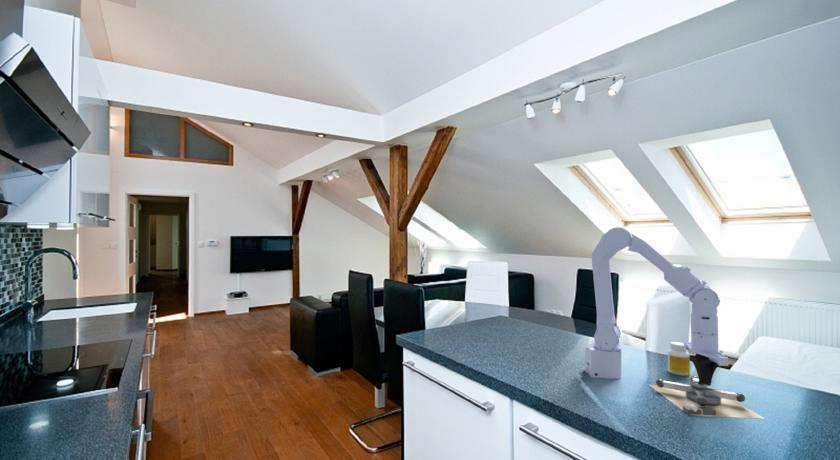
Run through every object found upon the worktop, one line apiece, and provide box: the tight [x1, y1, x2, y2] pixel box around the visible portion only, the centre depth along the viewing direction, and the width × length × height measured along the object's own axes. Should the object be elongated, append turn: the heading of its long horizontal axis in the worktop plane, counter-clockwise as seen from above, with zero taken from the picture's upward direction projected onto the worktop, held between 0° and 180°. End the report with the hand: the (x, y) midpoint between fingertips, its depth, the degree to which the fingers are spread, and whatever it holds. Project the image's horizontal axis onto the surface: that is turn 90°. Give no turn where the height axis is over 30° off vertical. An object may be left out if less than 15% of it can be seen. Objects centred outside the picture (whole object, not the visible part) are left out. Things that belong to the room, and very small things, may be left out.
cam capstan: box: [655, 375, 746, 406], centre depth 96 cm, size 18×18×4 cm
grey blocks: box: [682, 405, 716, 415], centre depth 88 cm, size 6×2×2 cm, turn 85°
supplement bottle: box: [667, 341, 691, 377], centre depth 114 cm, size 5×5×10 cm
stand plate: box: [648, 384, 766, 420], centre depth 95 cm, size 16×18×1 cm
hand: (705, 384), depth 100 cm, fingers closed, pressing on cam capstan
